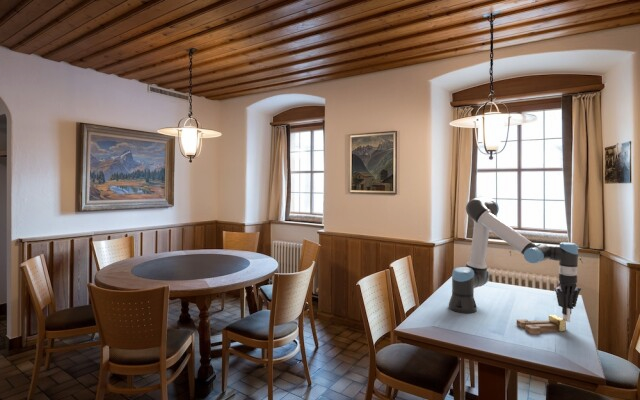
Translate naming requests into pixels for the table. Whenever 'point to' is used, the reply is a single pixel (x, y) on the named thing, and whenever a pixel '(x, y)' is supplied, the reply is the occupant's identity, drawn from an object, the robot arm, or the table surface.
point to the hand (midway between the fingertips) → (566, 320)
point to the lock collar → (558, 322)
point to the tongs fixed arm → (541, 328)
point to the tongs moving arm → (531, 322)
